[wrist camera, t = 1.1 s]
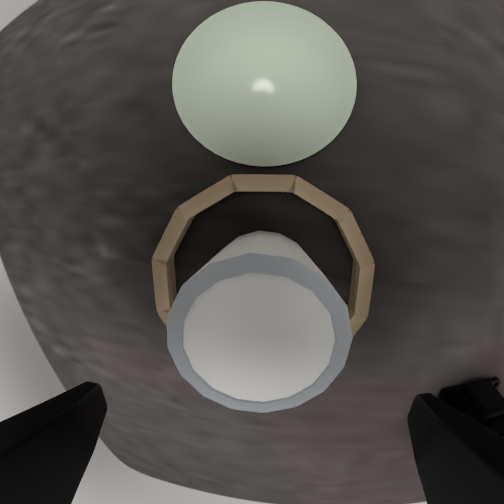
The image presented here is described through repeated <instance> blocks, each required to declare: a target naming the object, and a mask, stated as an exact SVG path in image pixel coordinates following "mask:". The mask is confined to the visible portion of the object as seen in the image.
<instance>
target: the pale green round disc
mask: <svg viewBox="0 0 504 504" xmlns="http://www.w3.org/2000/svg"><path fill="white" fill-rule="evenodd" d="M356 89H357V80H356V71H355V67H354V64H353V60H352V58H351V55H350V53H349V51H348V49H347V47H346V45H345V44H344V42H343V41H342V39H341V38H340V37H339V35H338V34H337V33H336V32H335V31H334V30H333V29H332V28H331V27H330V26H329V25H328V24H327V23H325V22H324V21H323V20H321V19H320V18H319V17H317V16H315V15H314V14H312V13H310V12H308V11H306V10H304V9H301V8H299V7H296V6H293V5H289V4H285V3H279V2H269V1H259V2H249V3H243V4H239V5H235V6H232V7H229V8H227V9H224V10H222V11H220V12H218V13H216V14H214V15H213V16H211V17H209V18H208V19H207V20H205V21H204V22H203V23H201V24H200V25H199V26H198V27H197V28H196V29H195V30H194V31H193V32H192V33H191V34H190V36H189V37H188V38H187V40H186V41H185V43H184V44H183V46H182V48H181V49H180V52H179V54H178V56H177V59H176V62H175V66H174V70H173V77H172V92H173V97H174V103H175V106H176V109H177V112H178V114H179V116H180V118H181V120H182V122H183V124H184V125H185V126H186V128H187V129H188V131H189V132H190V133H191V134H192V135H193V136H194V138H195V139H196V140H197V141H198V142H200V143H201V144H202V145H203V146H204V147H206V148H207V149H209V150H210V151H212V152H213V153H215V154H217V155H219V156H221V157H223V158H225V159H228V160H231V161H234V162H237V163H240V164H246V165H251V166H263V167H266V166H279V165H285V164H290V163H293V162H296V161H300V160H302V159H304V158H307V157H309V156H311V155H313V154H315V153H316V152H318V151H319V150H321V149H323V148H324V147H325V146H326V145H328V144H329V143H330V142H331V141H332V140H333V139H334V138H335V137H336V136H337V135H338V134H339V133H340V131H341V130H342V128H343V127H344V126H345V124H346V122H347V120H348V118H349V117H350V115H351V112H352V109H353V106H354V103H355V97H356Z"/></svg>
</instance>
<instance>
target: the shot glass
mask: <svg viewBox="0 0 504 504" xmlns="http://www.w3.org/2000/svg"><path fill="white" fill-rule="evenodd" d="M352 339H353V336H352V330H351V324H350V319H349V313H348V307H347V305H346V304H345V302H344V301H343V299H342V298H341V297H340V295H339V294H338V293H337V291H336V290H335V289H334V287H333V286H332V285H331V283H330V282H329V280H328V279H327V278H326V277H325V275H324V274H323V273H322V272H321V271H320V269H319V268H318V267H317V266H316V265H315V263H314V262H313V261H312V260H311V259H310V258H309V256H308V255H307V254H306V253H305V252H304V251H303V249H302V248H301V247H300V246H299V245H298V244H297V243H296V242H294V241H293V240H291V239H289V238H287V237H286V236H284V235H282V234H280V233H275V232H267V231H256V232H252V233H248V234H245V235H241V236H239V237H237V238H236V239H235V240H233V241H232V242H231V243H230V244H228V245H227V246H226V247H224V248H223V249H222V250H221V251H220V252H219V253H218V254H217V255H215V256H214V257H213V258H212V259H211V260H210V261H209V262H208V263H207V264H205V265H204V266H203V267H202V268H201V269H200V270H199V271H198V272H197V273H195V274H194V275H193V276H192V277H191V278H190V279H189V280H188V281H187V282H185V283H184V284H183V285H182V286H181V288H180V290H179V292H178V294H177V296H176V298H175V300H174V302H173V304H172V307H171V309H170V311H169V313H168V315H167V347H168V349H169V352H170V354H171V356H172V358H173V360H174V362H175V364H176V367H177V369H178V371H179V373H180V375H181V376H182V377H183V378H184V379H186V380H187V381H188V382H189V383H190V384H191V385H192V386H193V387H194V388H195V389H196V390H197V391H198V392H199V393H200V394H202V395H203V396H204V397H206V398H209V399H211V400H213V401H215V402H217V403H220V404H222V405H224V406H226V407H229V408H231V409H235V410H243V411H252V412H261V413H266V412H272V411H278V410H283V409H288V408H293V407H297V406H299V405H300V404H302V403H304V402H306V401H308V400H310V399H311V398H313V397H315V396H317V395H318V394H320V393H322V392H324V391H325V389H326V388H327V387H328V386H329V385H330V384H331V383H332V381H333V380H334V379H335V378H336V377H337V375H338V374H339V373H340V372H341V371H342V369H343V368H344V366H345V363H346V359H347V356H348V353H349V349H350V346H351V342H352Z"/></svg>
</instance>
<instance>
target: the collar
mask: <svg viewBox="0 0 504 504" xmlns="http://www.w3.org/2000/svg"><path fill="white" fill-rule="evenodd" d="M235 191H263V192H292V193H294V194H296V195H297V196H299V197H301V198H302V199H304V200H306V201H307V202H309V203H310V204H312V205H314V206H315V207H317V208H318V209H320V210H322V211H323V212H325V213H326V214H328V215H330V216H331V217H333V219H334V220H335V222H336V224H337V226H338V228H339V230H340V232H341V235H342V237H343V239H344V241H345V243H346V245H347V247H348V249H349V251H350V253H351V255H352V257H353V267H352V277H351V286H350V295H349V303H348V305H347V307H348V313H349V319H350V324H351V330H352V336H354V335H355V334H356V332H357V331H358V330H359V328H360V327H361V326H362V325H363V323H364V322H365V321H366V319H367V317H368V313H369V306H370V299H371V292H372V285H373V277H374V268H375V264H374V259H373V257H372V255H371V253H370V250H369V248H368V246H367V244H366V242H365V239H364V237H363V235H362V233H361V231H360V229H359V227H358V224H357V222H356V220H355V218H354V216H353V214H352V212H351V210H349V208H347V207H346V206H344V205H343V204H341V203H339V202H338V201H336V200H335V199H333V198H332V197H330V196H329V195H327V194H326V193H324V192H322V191H321V190H319V189H318V188H316V187H314V186H313V185H311V184H310V183H308V182H306V181H305V180H303V179H302V178H300V177H298V176H296V175H282V174H233V175H229V176H228V177H226V178H224V179H222V180H221V181H219V182H217V183H216V184H214V185H212V186H211V187H209V188H207V189H206V190H204V191H202V192H201V193H199V194H197V195H196V196H194V197H193V198H191V199H189V200H188V201H186V202H185V203H183V204H181V205H180V206H178V208H176V210H175V212H174V214H173V216H172V218H171V220H170V222H169V224H168V226H167V228H166V230H165V232H164V234H163V236H162V238H161V240H160V242H159V244H158V246H157V248H156V250H155V252H154V255H153V257H152V272H153V282H154V292H155V301H156V309H157V312H158V315H159V317H160V318H161V319H162V321H163V322H164V324H165V325H166V327H167V315H168V313H169V311H170V309H171V307H172V304H173V302H174V300H175V298H176V296H177V290H176V278H175V264H174V255H175V253H176V251H177V249H178V247H179V245H180V243H181V241H182V239H183V237H184V235H185V233H186V231H187V229H188V228H189V226H190V224H191V222H192V220H193V218H194V216H195V215H196V214H198V213H199V212H201V211H203V210H204V209H206V208H208V207H209V206H211V205H213V204H214V203H216V202H218V201H219V200H221V199H223V198H225V197H226V196H228V195H230V194H231V193H233V192H235Z"/></svg>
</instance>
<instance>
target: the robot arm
mask: <svg viewBox="0 0 504 504" xmlns="http://www.w3.org/2000/svg"><path fill="white" fill-rule="evenodd" d="M499 385H500V380H499V379H498V378H497V377H496V378H492V379H488V380H484V381H479V382H475V383H471V384H466V385H461V386H456V387H451V388H446V389H444V390H443V391H442V392H441V393H440V395H439V398H437V397H436V396H434V395H432V394H431V393H423V394H418V395H416V397H415V398H414V401H413V404H412V406H411V409H410V411H409V414H408V426H409V431H410V436H411V441H412V446H413V452H414V457H415V462H416V466H417V470H418V473H419V476H420V480H421V483H422V487H423V490H424V494H425V497H426V501H427V504H504V398H503V396H502V395H501V394H500V393H499V392H498V390H497V389H498V387H499ZM106 412H107V403H106V400H105V397H104V394H103V391H102V388H101V386H100V385H99V384H98V383H94V382H88V381H87V382H85V383H82V384H80V385H78V386H76V387H74V388H72V389H70V390H68V391H66V392H64V393H62V394H60V395H58V396H56V397H53V398H51V399H49V400H47V401H45V402H43V403H41V404H39V405H36V406H34V407H32V408H30V409H28V410H26V411H23V412H21V413H19V414H17V415H15V416H12V417H10V418H8V419H6V420H3V421H1V422H0V504H71V503H72V500H73V498H74V496H75V493H76V491H77V488H78V486H79V484H80V481H81V479H82V477H83V474H84V472H85V470H86V467H87V465H88V463H89V461H90V458H91V456H92V454H93V451H94V449H95V446H96V443H97V440H98V437H99V433H100V430H101V427H102V424H103V421H104V418H105V415H106Z"/></svg>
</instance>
